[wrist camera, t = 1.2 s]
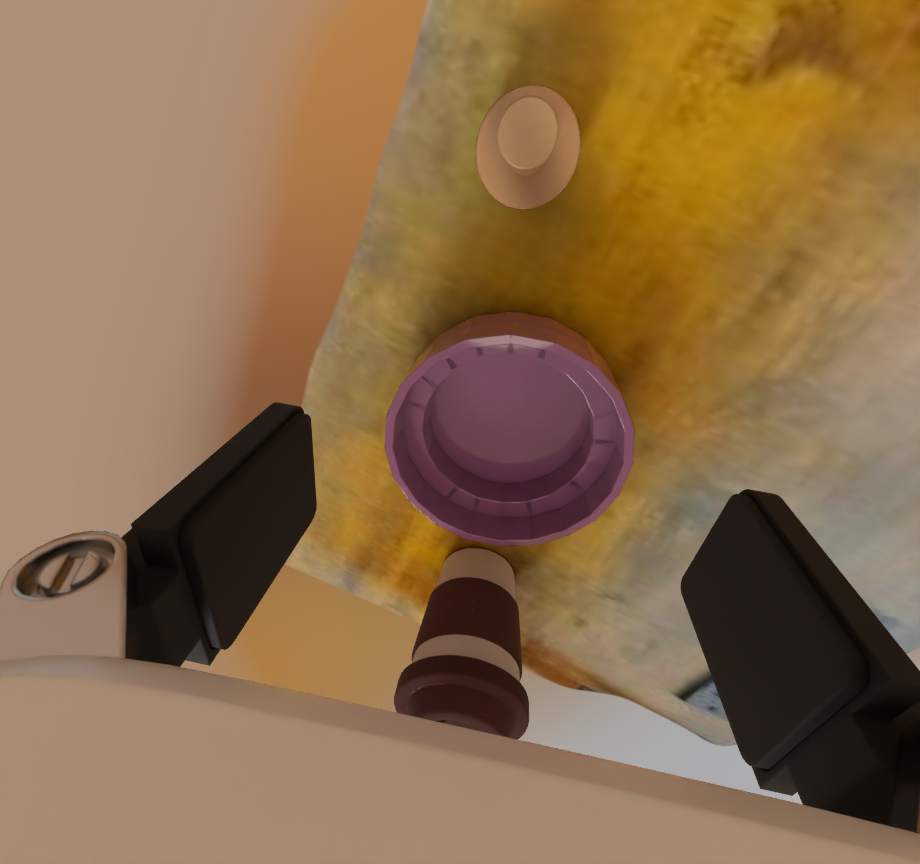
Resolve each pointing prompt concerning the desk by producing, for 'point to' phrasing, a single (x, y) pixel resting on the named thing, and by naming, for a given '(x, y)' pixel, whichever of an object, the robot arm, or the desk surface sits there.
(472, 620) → the coffee cup
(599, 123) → the desk surface
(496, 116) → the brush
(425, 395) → the bowl
